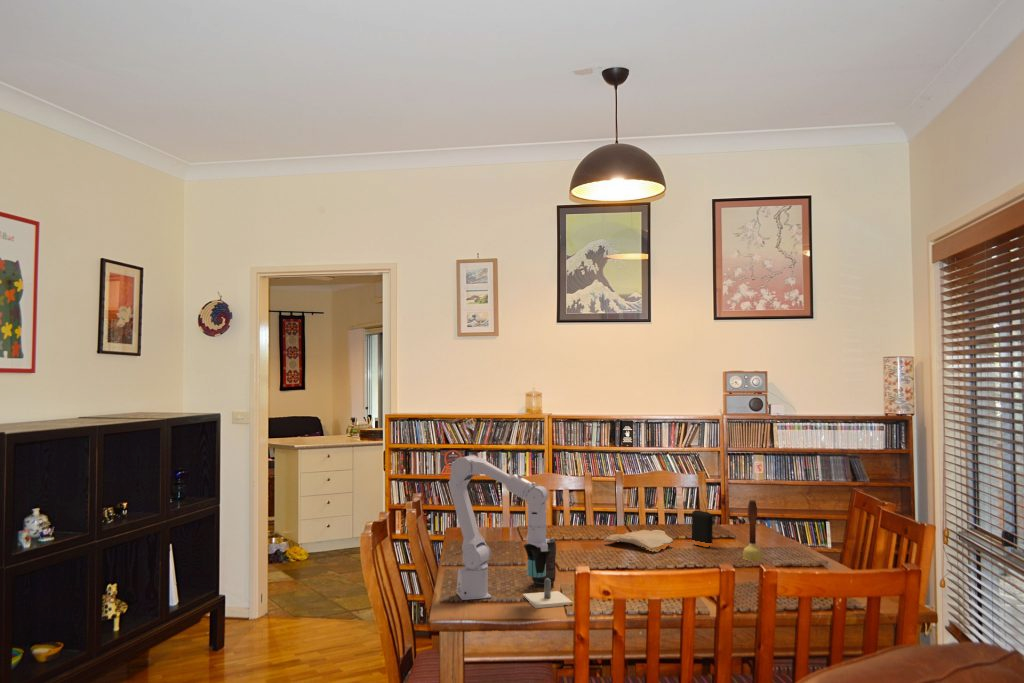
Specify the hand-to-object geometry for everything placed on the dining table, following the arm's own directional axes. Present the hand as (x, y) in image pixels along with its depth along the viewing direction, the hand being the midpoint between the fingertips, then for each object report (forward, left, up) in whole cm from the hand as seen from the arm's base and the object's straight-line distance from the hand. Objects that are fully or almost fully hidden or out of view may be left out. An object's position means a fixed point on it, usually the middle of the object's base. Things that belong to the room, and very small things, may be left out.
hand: (536, 570), depth 230 cm
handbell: (+93, +20, -10) cm, 96 cm away
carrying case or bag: (+94, +56, -10) cm, 110 cm away
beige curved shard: (+69, +64, -11) cm, 95 cm away
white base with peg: (+4, +1, -10) cm, 11 cm away
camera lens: (+9, +18, -10) cm, 23 cm away
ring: (0, 0, -1) cm, 1 cm away
